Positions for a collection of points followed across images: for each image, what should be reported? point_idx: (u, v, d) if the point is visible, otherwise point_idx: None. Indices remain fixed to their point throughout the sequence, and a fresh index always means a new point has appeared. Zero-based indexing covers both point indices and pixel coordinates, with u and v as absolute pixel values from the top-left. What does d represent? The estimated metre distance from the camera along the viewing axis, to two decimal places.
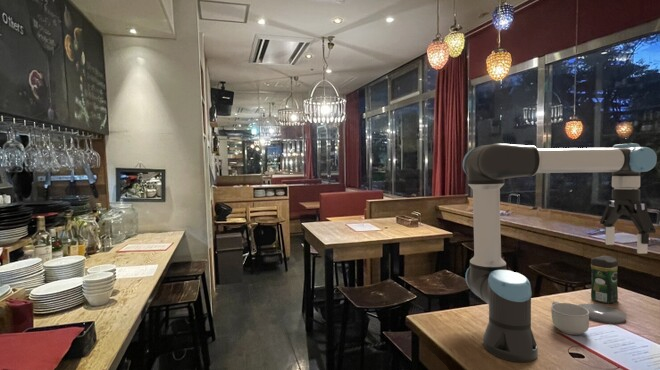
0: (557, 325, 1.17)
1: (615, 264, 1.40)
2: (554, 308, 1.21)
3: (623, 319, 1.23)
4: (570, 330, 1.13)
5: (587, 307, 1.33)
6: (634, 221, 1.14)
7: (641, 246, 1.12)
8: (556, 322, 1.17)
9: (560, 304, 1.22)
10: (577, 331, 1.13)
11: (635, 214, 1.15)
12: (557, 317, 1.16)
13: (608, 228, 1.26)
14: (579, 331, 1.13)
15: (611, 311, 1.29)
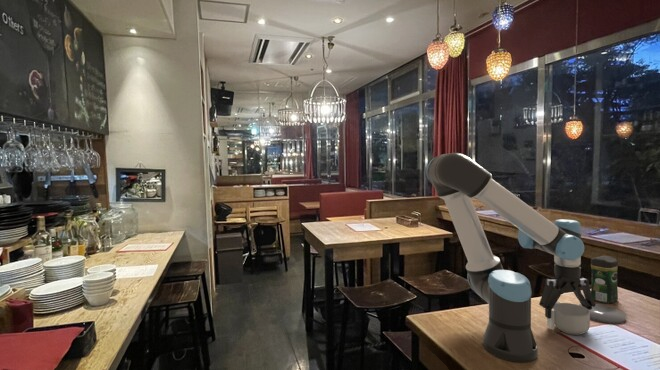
0: (558, 325, 1.17)
1: (615, 264, 1.40)
2: (555, 308, 1.21)
3: (623, 319, 1.23)
4: (571, 330, 1.13)
5: None
6: None
7: (548, 319, 1.19)
8: (557, 322, 1.17)
9: (561, 304, 1.22)
10: (578, 331, 1.13)
11: (556, 290, 1.18)
12: (557, 317, 1.16)
13: None
14: (580, 331, 1.13)
15: (611, 311, 1.29)
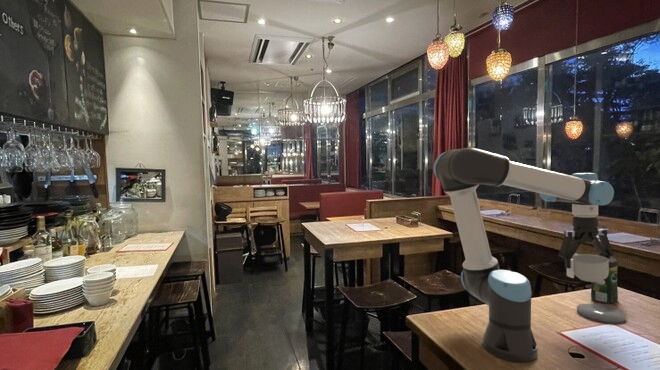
0: (577, 274, 1.21)
1: (615, 264, 1.40)
2: (574, 259, 1.26)
3: (623, 319, 1.23)
4: (590, 277, 1.18)
5: (587, 307, 1.33)
6: None
7: (567, 270, 1.24)
8: (576, 271, 1.21)
9: (579, 255, 1.26)
10: (597, 277, 1.17)
11: (575, 241, 1.23)
12: (577, 266, 1.20)
13: None
14: (599, 277, 1.17)
15: (611, 311, 1.29)
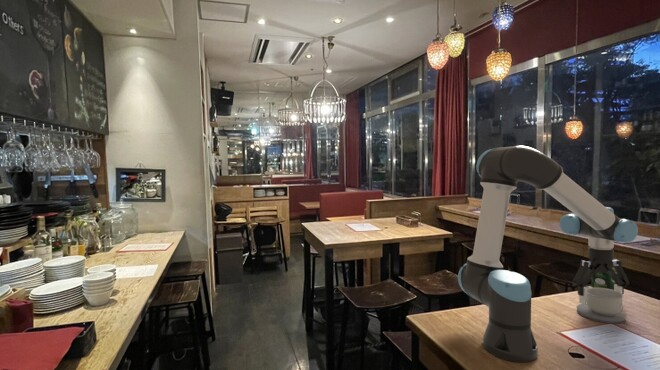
0: (592, 307, 1.27)
1: None
2: (588, 292, 1.32)
3: (623, 319, 1.23)
4: (605, 311, 1.23)
5: (587, 307, 1.33)
6: None
7: (580, 297, 1.30)
8: (591, 304, 1.27)
9: (594, 289, 1.32)
10: (612, 312, 1.23)
11: (590, 270, 1.29)
12: (592, 300, 1.26)
13: (615, 286, 1.30)
14: (613, 312, 1.23)
15: None
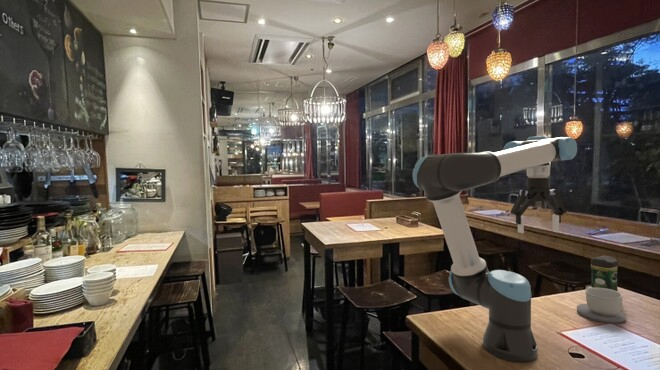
0: (592, 307, 1.27)
1: (615, 264, 1.40)
2: (588, 292, 1.32)
3: (623, 319, 1.23)
4: (605, 311, 1.23)
5: (587, 307, 1.33)
6: None
7: (518, 226, 1.31)
8: (591, 304, 1.27)
9: (593, 289, 1.32)
10: (612, 312, 1.23)
11: (528, 200, 1.30)
12: (592, 300, 1.26)
13: (553, 215, 1.32)
14: (613, 312, 1.23)
15: None
